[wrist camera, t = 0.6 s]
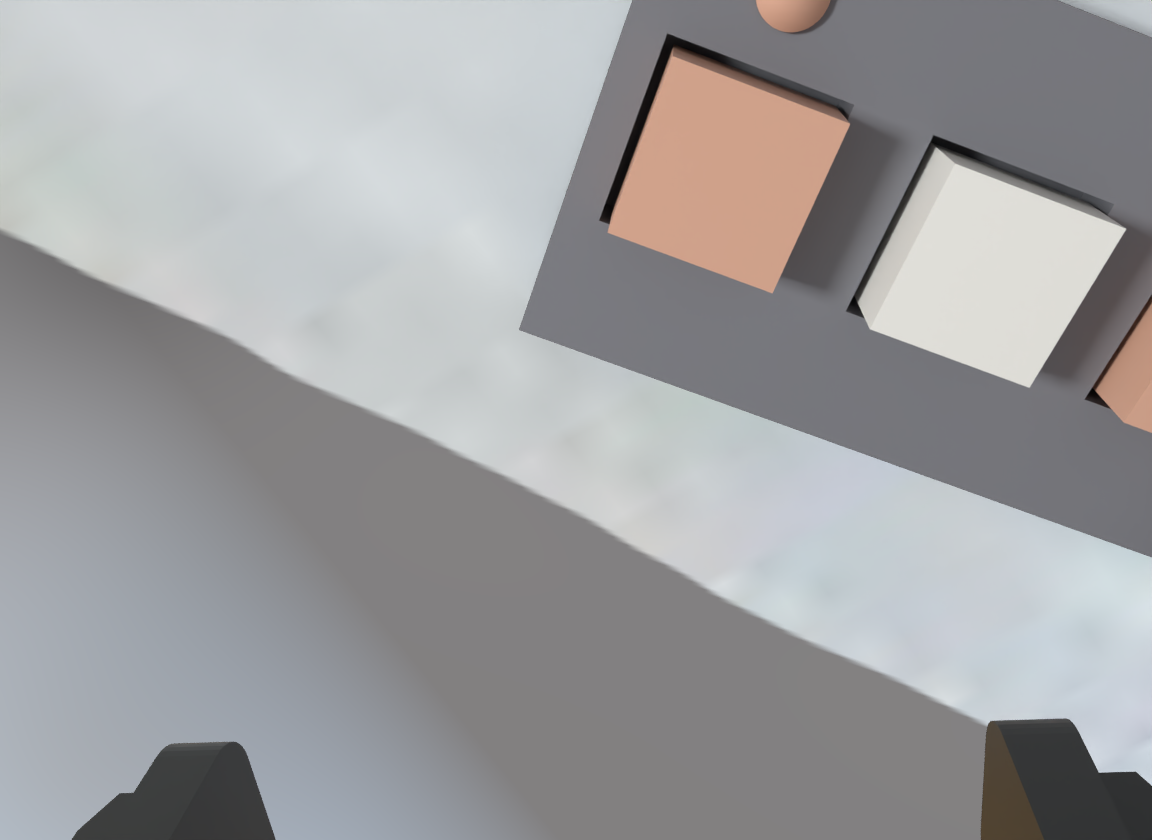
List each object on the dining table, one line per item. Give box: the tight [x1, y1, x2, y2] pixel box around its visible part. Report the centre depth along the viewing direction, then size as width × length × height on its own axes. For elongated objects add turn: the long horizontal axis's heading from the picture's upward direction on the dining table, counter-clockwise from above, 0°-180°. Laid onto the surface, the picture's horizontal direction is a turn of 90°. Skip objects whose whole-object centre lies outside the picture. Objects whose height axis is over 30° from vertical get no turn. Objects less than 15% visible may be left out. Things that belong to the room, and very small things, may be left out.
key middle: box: [854, 142, 1126, 388], centre depth 30 cm, size 5×5×3 cm
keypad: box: [519, 0, 1152, 557], centre depth 31 cm, size 14×24×3 cm, turn 71°
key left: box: [607, 45, 850, 293], centre depth 29 cm, size 5×5×3 cm
